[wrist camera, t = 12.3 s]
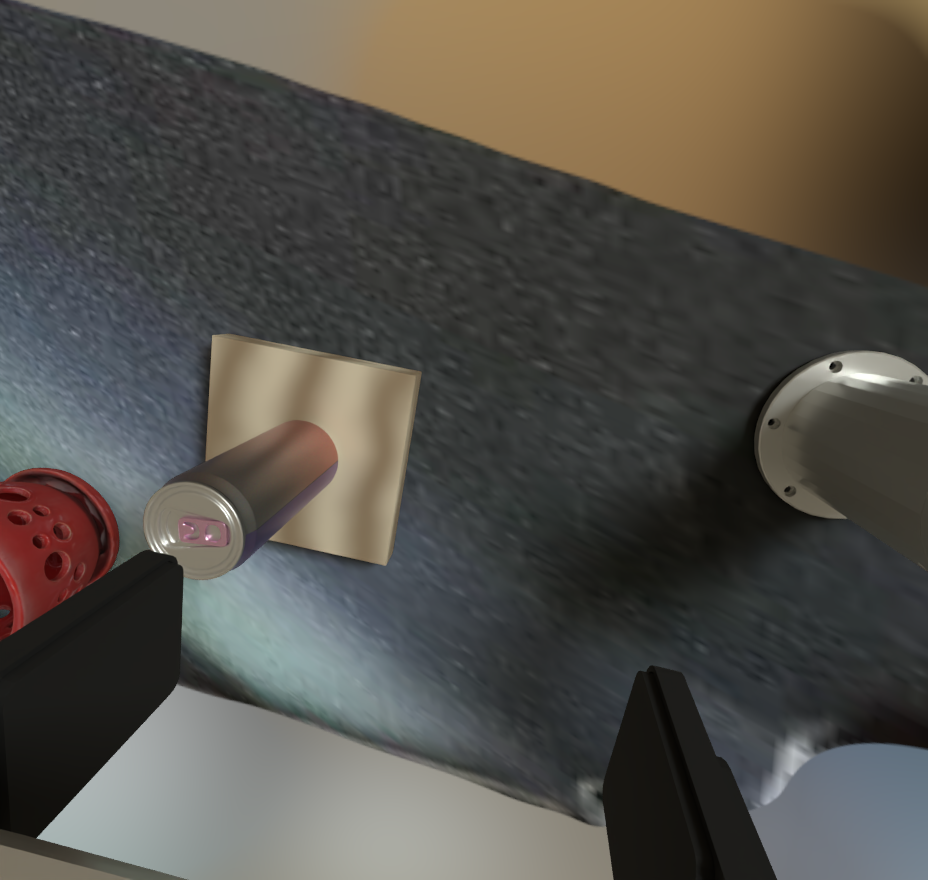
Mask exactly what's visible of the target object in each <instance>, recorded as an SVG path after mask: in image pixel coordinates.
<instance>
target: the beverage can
mask: <svg viewBox="0 0 928 880" xmlns="http://www.w3.org/2000/svg"><path fill="white" fill-rule="evenodd" d="M337 467H338V454H337V450H336V447H335V445H334V443H333V441H332V439H331V438H330V436H329V435H328V434H327V433H326V432H325V431H324V430H323V429H321V428H320V427H319V426H317V425H315V424H313V423H310V422H307V421H302V420H292V421H288V422H285V423H282V424H280V425H278V426H276V427H274V428H272V429H270V430H268V431H266V432H264V433H262V434H260V435H258V436H256V437H254V438H252V439H250V440H248V441H246V442H244V443H242V444H240V445H238V446H236V447H234V448H232V449H230V450H228V451H226V452H224V453H222V454H220V455H218V456H216V457H214V458H212V459H210V460H208V461H206V462H204V463H202V464H200V465H198V466H196V467H194V468H192V469H190V470H188V471H186V472H184V473H182V474H180V475H178V476H176V477H174V478H172V479H171V480H169V481H168V482H167V483H166V484H165V485H164V486H163V487H162V488H161V489H159V490H158V491H157V492H156V493H155V494H154V495H153V496H152V497H151V498H150V500H149V502H148V504H147V506H146V508H145V512H144V517H143V528H144V534H145V537H146V540H147V543H148V545H149V547H150V549H151V550H152V551H155V552H159V553H163V554H168V555H172V556H174V557H176V559H177V561H178V564H179V565H181V566H182V567H183V572H184V575H183V577H186V578H190V579H196V580H208V579H213V578H217V577H220V576H222V575H224V574H226V573H227V572H229V571H231V570H233V569H235V568H237V567H239V566H240V565H241V564H243V563H244V562H245V561H246V560H247V559H248V558H249V557H250V556H251V555H253V554H254V553H255V552H256V551H257V550H258V549H259V548H260V547H261V546H262V545H263V544H264V543H266V542H267V541H268V540H269V539H270V538H271V537H272V536H273V535H274V534H275V533H276V532H277V531H279V530H280V529H281V528H282V527H283V526H284V525H285V524H286V523H287V522H288V521H289V520H290V519H292V518H293V517H294V516H295V515H296V514H297V513H298V512H299V511H300V510H301V509H302V508H303V507H305V506H306V505H307V504H308V503H309V502H310V501H311V500H312V499H313V498H314V497H315V496H316V495H318V494H319V493H320V492H321V491H322V490H323V489H324V488H325V487H326V486H327V485H328V484H329V483H330V482H331V481H332V480H333V478H334V476H335V474H336V471H337Z"/></svg>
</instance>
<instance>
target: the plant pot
mask: <svg viewBox="0 0 928 880" xmlns="http://www.w3.org/2000/svg"><path fill="white" fill-rule="evenodd" d="M118 549H119V531H118V525H117V522H116V519H115V517H114V514H113V512H112V510H111V508H110V507H109V505H108V503H107V502H106V501H105V499H104V498H103V497H102V496H101V495H100V494H99V492H98V491H96V490H95V489H94V488H93V487H92V486H91V485H89V484H88V483H87V482H85V481H84V480H82V479H81V478H79V477H77V476H75V475H73V474H71V473H68V472H66V471H62V470H58V469H51V468H32V469H27V470H23V471H20V472H18V473H16V474H14V475H12V476H11V477H9V478H8V479H6V480H5V481H4V482H0V610H1V609H6V610H9V611H10V612H9V614H8V615H7V616H5V617H3V618H0V641H2V640H3V639H5V638H6V637H8V636H10V635H11V634H13V633H14V632H16V631H17V630H19V629H21V628H22V627H24V626H25V625H27V624H29V623H30V622H32V621H33V620H35V619H36V618H38V617H40V616H41V615H43V614H44V613H46V612H47V611H49V610H51V609H52V608H54V607H55V606H57V605H58V604H60V603H62V602H63V601H65V600H66V599H68V598H70V597H71V596H73V595H74V594H76V593H77V592H79V591H81V590H82V589H84V588H85V587H86V586H88V585H90V584H92V583H93V582H95V581H96V580H98V579H99V578H101V577H103V576H104V575H105V574H106V573H107V572H108V571H109V570H110V569H111V567H112V566H113V564H114V562H115V560H116V557H117V553H118Z"/></svg>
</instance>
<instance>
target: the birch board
mask: <svg viewBox="0 0 928 880" xmlns="http://www.w3.org/2000/svg"><path fill="white" fill-rule="evenodd" d="M421 374H422V372H420V371H415V370H410V369H405V368H400V367H395V366H390V365H385V364H380V363H375V362H369V361H364V360H359V359H354V358H349V357H344V356H339V355H334V354H329V353H324V352H319V351H314V350H309V349H304V348H299V347H294V346H289V345H284V344H279V343H274V342H269V341H264V340H259V339H253V338H248V337H243V336H238V335H233V334H221V335H212V351H211V370H210V388H209V406H208V424H207V442H206V460H205V462H206V461H208V460H210V459H212V458H214V457H216V456H218V455H220V454H222V453H224V452H226V451H228V450H230V449H232V448H234V447H236V446H238V445H240V444H242V443H244V442H246V441H248V440H250V439H252V438H254V437H256V436H258V435H260V434H262V433H264V432H266V431H268V430H270V429H272V428H274V427H276V426H278V425H280V424H282V423H285V422H288V421H292V420H302V421H307V422H310V423H313V424H315V425H317V426H319V427H320V428H321V429H323V430H324V431H325V432H326V433H327V434H328V435H329V436H330V438H331V439H332V441H333V443H334V445H335V447H336V450H337V454H338V467H337V471H336V474H335V476H334V478H333V480H332V481H331V482H330V483H329V484H328V485H327V486H326V487H325V488H324V489H323V490H322V491H321V492H320V493H319V494H318V495H316V496H315V497H314V498H313V499H312V500H311V501H310V502H309V503H308V504H307V505H306V506H305V507H303V508H302V509H301V510H300V511H299V512H298V513H297V514H296V515H295V516H294V517H293V518H292V519H290V520H289V521H288V522H287V523H286V524H285V525H284V526H283V527H282V528H281V529H280V530H279V531H277V532H276V533H275V534H274V535H273V536H272V537H271V538H270V539H269V540H272V541H276V542H281V543H286V544H290V545H295V546H299V547H304V548H308V549H313V550H317V551H322V552H326V553H331V554H335V555H340V556H344V557H349V558H353V559H358V560H362V561H367V562H371V563H376V564H381V565H385V566H386V564H387V563H388V561H389V559H390V557H391V555H392V553H393V548H394V542H395V535H396V529H397V523H398V517H399V510H400V504H401V498H402V492H403V486H404V479H405V473H406V467H407V461H408V454H409V448H410V442H411V436H412V430H413V423H414V417H415V411H416V405H417V398H418V392H419V386H420V380H421Z"/></svg>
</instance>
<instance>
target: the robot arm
mask: <svg viewBox="0 0 928 880" xmlns="http://www.w3.org/2000/svg"><path fill="white" fill-rule="evenodd" d="M831 363H832V367H831V368H830V369H829V366H830V364H831ZM909 381H910V382H909ZM770 419H772V422H771V423H770V424H768V422H769V420H770ZM754 453H755V457H756V461H757V465H758V469H759V471H760V473H761V475H762V477H763V479H764V481H765V482H766V483H767V484H768V486H769V487H770V488H771V489H772V491H773V492H774V493H775V494H777V495H778V496H779V497H780V498H781V499H783V500H784V501H785V502H787V503H788V504H790V505H791V506H793V507H794V508H796V509H798V510H800V511H803V512H805V513H808V514H810V515H813V516H818V517H823V518H830V519H850V520H851V521H853V522H854V523H856V524H857V525H859V526H860V527H862V528H863V529H865V530H866V531H868V532H869V533H871V534H872V535H873V536H875V537H876V538H878V539H879V540H881V541H882V542H884V543H885V544H887V545H888V546H890V547H891V548H893V549H894V550H896V551H897V552H899V553H900V554H902V555H903V556H905V557H906V558H908V559H909V560H911V561H912V562H914V563H915V564H917V565H918V566H920V567H921V568H923V569H924V570H926V571H927V572H928V376H927V375H926V374H925V373H923V372H922V371H921V370H920V369H919V368H918V367H916V366H915V365H913V364H912V363H910V362H908V361H906V360H904V359H902V358H900V357H897V356H893V355H890V354H886V353H882V352H875V351H868V350H849V351H843V352H837V353H832V354H829V355H826V356H823V357H820V358H817V359H815V360H813V361H811V362H809V363H807V364H805V365H804V366H802V367H800V368H798V369H797V370H795V371H794V372H793V373H792V374H790V375H789V376H788V377H787V378H785V379H784V380H783V381H782V382H781V383H780V384H779V386H778V387H777V388H776V389H775V390H774V391H773V392H772V394H771V395H770V397H769V398H768V400H767V402H766V403H765V405H764V406H763V408H762V411H761V413H760V416H759V419H758V421H757V425H756V430H755V436H754ZM786 487H788V488H787V489H786V490H785V488H786ZM183 575H184V572H183V567H182V566H181V565H179V564H178V561H177V559H176V557H174V556H172V555H168V554H163V553H159V552H155V551H150V550H145V551H142V552H140V553H139V554H137V555H136V556H134V557H133V558H131V559H129V560H128V561H126V562H125V563H123V564H122V565H120V566H118V567H117V568H115V569H114V570H112V571H110V572H109V573H107V574H106V575H104V576H103V577H101V578H99V579H98V580H96V581H95V582H93V583H92V584H90V585H88V586H87V587H85V588H84V589H82V590H81V591H79V592H77V593H76V594H74V595H73V596H71V597H70V598H68V599H66V600H65V601H63V602H62V603H60V604H58V605H57V606H55V607H54V608H52V609H51V610H49V611H47V612H46V613H44V614H43V615H41V616H40V617H38V618H36V619H35V620H33V621H32V622H30V623H29V624H27V625H25V626H24V627H22V628H21V629H19V630H17V631H16V632H14V633H13V634H11V635H10V636H8V637H6V638H5V639H3V640H2V641H0V880H187V879H184V878H180V877H176V876H173V875H169V874H165V873H162V872H158V871H155V870H151V869H147V868H143V867H140V866H136V865H132V864H129V863H125V862H121V861H118V860H114V859H110V858H107V857H103V856H99V855H95V854H92V853H88V852H84V851H80V850H76V849H73V848H70V847H66V846H62V845H58V844H55V843H51V842H47V841H44V840H40V839H36V838H37V837H38V836H39V835H40V833H42V831H43V830H44V829H45V828H46V827H47V826H48V825H49V824H50V823H51V822H52V821H53V820H54V819H55V817H56V816H57V815H58V814H59V813H60V812H61V811H62V810H63V809H64V808H65V807H66V806H67V805H68V803H69V802H70V801H71V800H72V799H73V798H74V797H75V796H76V795H77V794H78V793H79V792H80V790H82V788H83V787H84V786H85V785H86V784H87V783H88V782H89V781H90V780H91V779H92V778H93V777H94V776H95V774H96V773H97V772H98V771H99V770H100V769H101V768H102V767H103V766H104V765H105V764H106V763H107V762H108V760H109V759H110V758H111V757H112V756H113V755H114V754H115V753H116V752H117V751H118V750H119V749H120V748H121V746H122V745H123V744H124V743H125V742H126V741H127V740H128V739H129V738H130V737H131V736H132V735H133V734H134V732H135V731H136V730H137V729H138V728H139V727H140V726H141V725H142V724H143V723H144V722H145V721H146V720H147V718H148V717H149V716H150V715H151V714H152V713H153V712H154V711H155V710H156V709H157V708H158V707H159V705H161V703H162V702H163V701H164V700H165V699H166V698H167V697H168V696H169V695H170V694H171V692H172V691H173V690H174V688H175V686H176V684H177V682H178V679H179V675H180V654H181V628H182V602H183ZM603 806H604V813H605V820H606V827H607V835H608V842H609V849H610V856H611V864H612V871H613V878H614V880H777V878H776V876H775V874H774V871H773V869H772V866H771V864H770V862H769V859H768V857H767V854H766V852H765V850H764V847H763V845H762V843H761V840H760V838H759V836H758V833H757V831H756V828H755V826H754V824H753V822H752V819H751V817H750V814H749V812H748V809H747V807H746V805H745V802H744V800H743V798H742V795H741V793H740V790H739V788H738V786H737V783H736V781H735V779H734V776H733V774H732V771H731V769H730V767H729V766H728V764H727V762H726V761H725V760H724V759H722V758H721V757H717V756H716V755H715V752H714V750H713V747H712V745H711V742H710V740H709V737H708V735H707V732H706V730H705V727H704V725H703V722H702V720H701V717H700V715H699V712H698V710H697V707H696V705H695V702H694V700H693V697H692V695H691V692H690V690H689V688H688V685H687V683H686V680H685V678H684V676H683V674H682V673H681V672H678V671H674V670H670V669H665V668H661V667H657V666H649V668H648V669H647V672H643V671H639V672H638V673H637V675H636V677H635V681H634V684H633V687H632V690H631V694H630V697H629V700H628V703H627V707H626V710H625V713H624V716H623V720H622V723H621V726H620V730H619V733H618V736H617V739H616V743H615V746H614V749H613V752H612V756H611V759H610V762H609V765H608V769H607V772H606V775H605V779H604V784H603Z"/></svg>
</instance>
